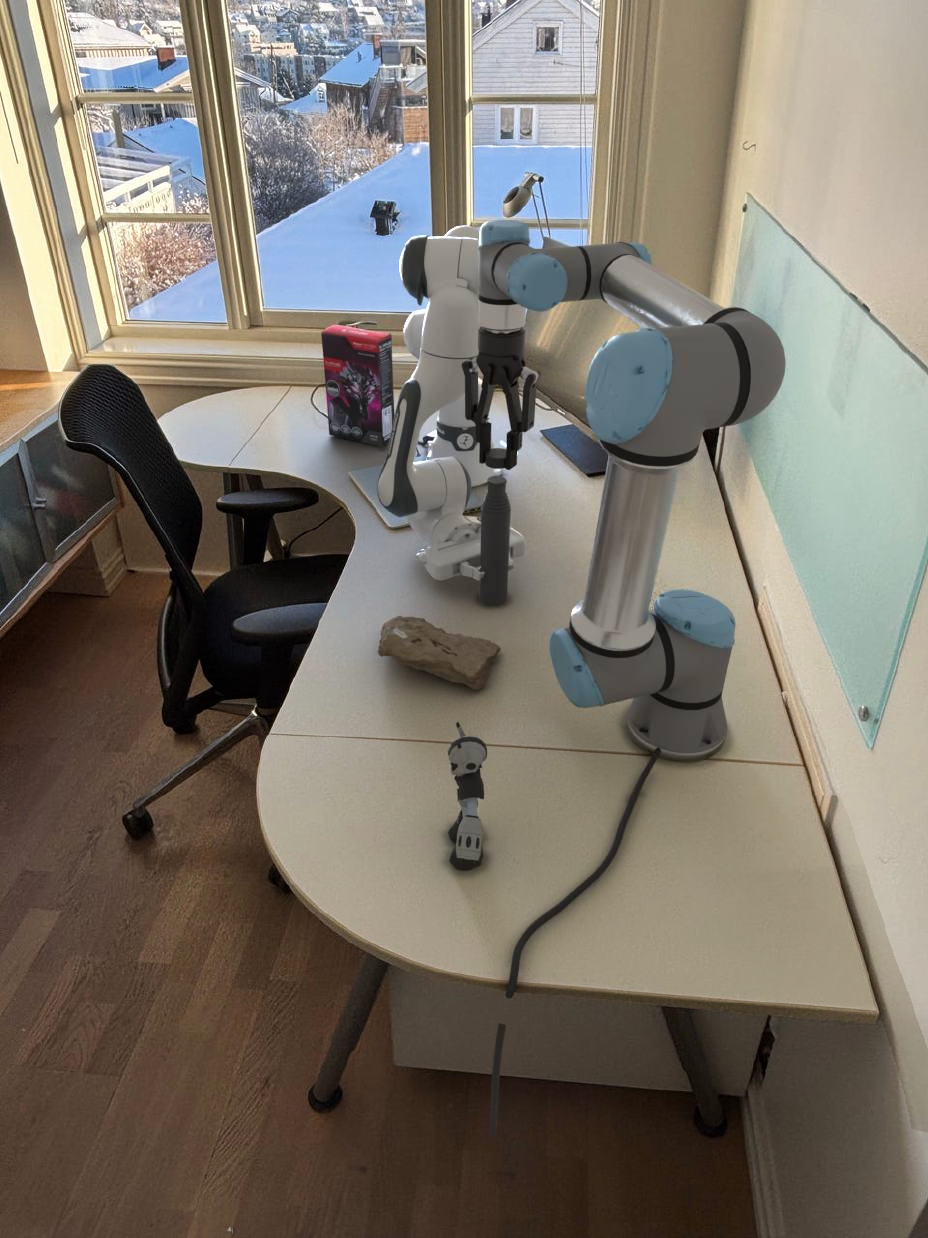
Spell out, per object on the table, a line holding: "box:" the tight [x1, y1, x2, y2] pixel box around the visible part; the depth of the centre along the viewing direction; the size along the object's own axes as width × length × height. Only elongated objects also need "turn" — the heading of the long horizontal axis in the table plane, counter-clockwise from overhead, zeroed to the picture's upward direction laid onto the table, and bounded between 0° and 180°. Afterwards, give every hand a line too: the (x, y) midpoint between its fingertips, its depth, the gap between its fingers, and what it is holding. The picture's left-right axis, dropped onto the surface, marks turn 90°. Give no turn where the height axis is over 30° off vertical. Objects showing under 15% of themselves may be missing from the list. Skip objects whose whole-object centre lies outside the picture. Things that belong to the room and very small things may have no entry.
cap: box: [485, 447, 506, 470], centre depth 158 cm, size 4×4×2 cm
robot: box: [447, 721, 488, 871], centre depth 117 cm, size 20×5×20 cm, turn 3°
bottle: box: [479, 475, 512, 608], centre depth 167 cm, size 5×5×25 cm
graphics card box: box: [320, 324, 395, 448], centre depth 230 cm, size 17×7×27 cm, turn 62°
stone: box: [377, 615, 502, 691], centre depth 155 cm, size 21×15×6 cm
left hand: (497, 571), depth 170 cm, fingers closed on bottle, 5 cm apart
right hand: (498, 463), depth 158 cm, fingers closed on cap, 4 cm apart
